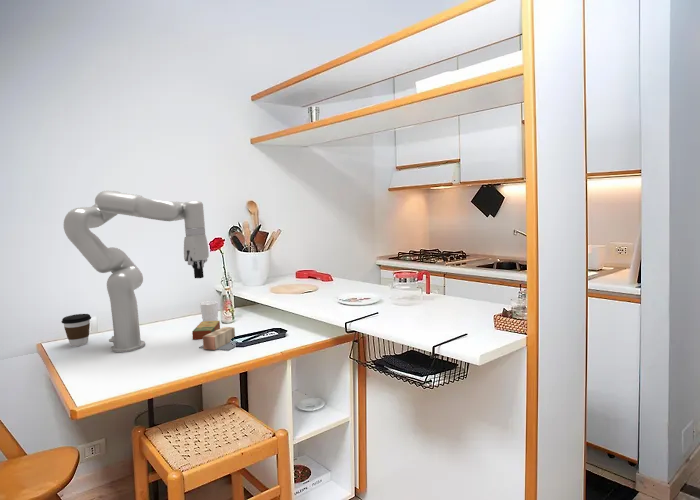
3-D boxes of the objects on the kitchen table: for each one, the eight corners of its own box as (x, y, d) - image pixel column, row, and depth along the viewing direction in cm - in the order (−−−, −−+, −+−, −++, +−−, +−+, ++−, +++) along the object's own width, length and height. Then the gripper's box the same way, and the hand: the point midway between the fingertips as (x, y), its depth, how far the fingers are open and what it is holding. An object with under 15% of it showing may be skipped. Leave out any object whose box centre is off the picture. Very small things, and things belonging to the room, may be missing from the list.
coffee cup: (80, 348, 194) (77, 320, 192) (57, 348, 196) (54, 319, 195) (99, 340, 204) (96, 313, 203) (77, 340, 206) (75, 313, 205)
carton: (220, 329, 215) (220, 320, 215) (212, 339, 199) (211, 329, 199) (202, 330, 215) (201, 320, 214) (192, 340, 199) (191, 330, 199)
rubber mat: (198, 348, 187) (198, 347, 187) (223, 336, 202) (223, 335, 202) (228, 350, 182) (228, 349, 182) (251, 338, 197) (251, 337, 197)
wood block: (202, 336, 184) (224, 326, 197) (203, 349, 184) (225, 338, 197) (213, 337, 182) (234, 327, 195) (214, 349, 182) (235, 339, 195)
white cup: (201, 322, 228) (199, 302, 227) (218, 320, 231) (216, 300, 229) (202, 326, 220) (200, 305, 219) (219, 324, 223) (218, 303, 222)
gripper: (199, 231, 196) (203, 274, 198) (174, 234, 183) (178, 281, 185) (214, 230, 194) (218, 275, 196) (190, 233, 180) (194, 281, 182)
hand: (199, 277), depth 190 cm, fingers closed
